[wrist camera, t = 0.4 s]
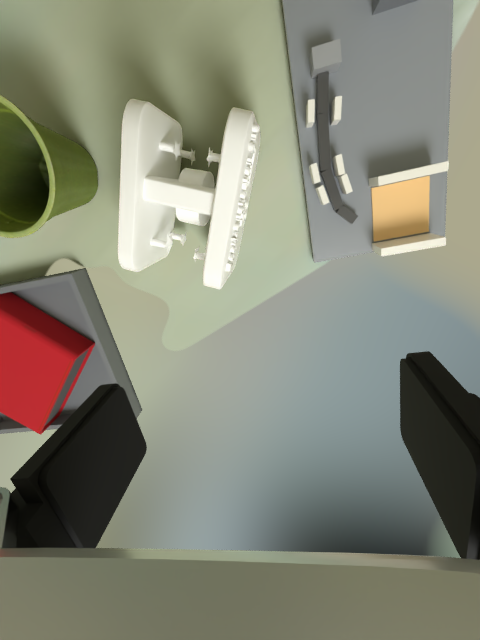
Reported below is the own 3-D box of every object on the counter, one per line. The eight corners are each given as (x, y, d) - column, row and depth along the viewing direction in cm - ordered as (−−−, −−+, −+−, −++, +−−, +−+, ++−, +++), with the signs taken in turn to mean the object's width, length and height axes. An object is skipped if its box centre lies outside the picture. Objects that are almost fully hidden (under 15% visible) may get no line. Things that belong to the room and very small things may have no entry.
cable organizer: (172, 115, 33) (120, 77, 22) (267, 135, 32) (259, 106, 22) (160, 250, 39) (114, 272, 28) (239, 269, 38) (223, 298, 28)
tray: (-72, 300, 46) (-94, 306, 44) (85, 268, 41) (71, 273, 38) (3, 422, 55) (-11, 434, 52) (142, 409, 49) (133, 422, 47)
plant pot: (17, 195, 38) (-80, 195, 28) (38, 95, 34) (-70, 52, 23) (100, 243, 39) (36, 261, 29) (132, 154, 35) (69, 137, 24)
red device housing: (9, 288, 43) (-23, 299, 39) (96, 341, 45) (75, 358, 40) (-16, 372, 50) (-46, 389, 46) (60, 415, 52) (38, 436, 47)
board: (277, -34, 27) (276, -77, 23) (449, -99, 24) (485, -162, 20) (313, 260, 37) (317, 269, 32) (439, 237, 34) (462, 244, 30)
